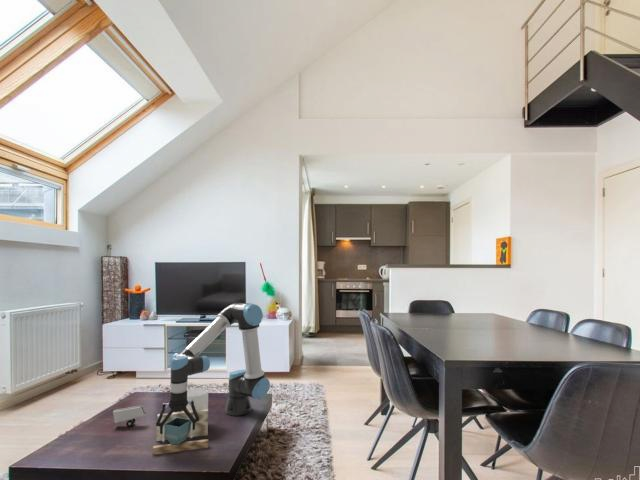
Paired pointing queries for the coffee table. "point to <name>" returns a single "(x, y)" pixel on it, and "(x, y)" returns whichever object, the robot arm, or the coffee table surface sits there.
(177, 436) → the flower pot
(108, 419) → the coffee table surface
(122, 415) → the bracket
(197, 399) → the container
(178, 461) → the coffee table surface
